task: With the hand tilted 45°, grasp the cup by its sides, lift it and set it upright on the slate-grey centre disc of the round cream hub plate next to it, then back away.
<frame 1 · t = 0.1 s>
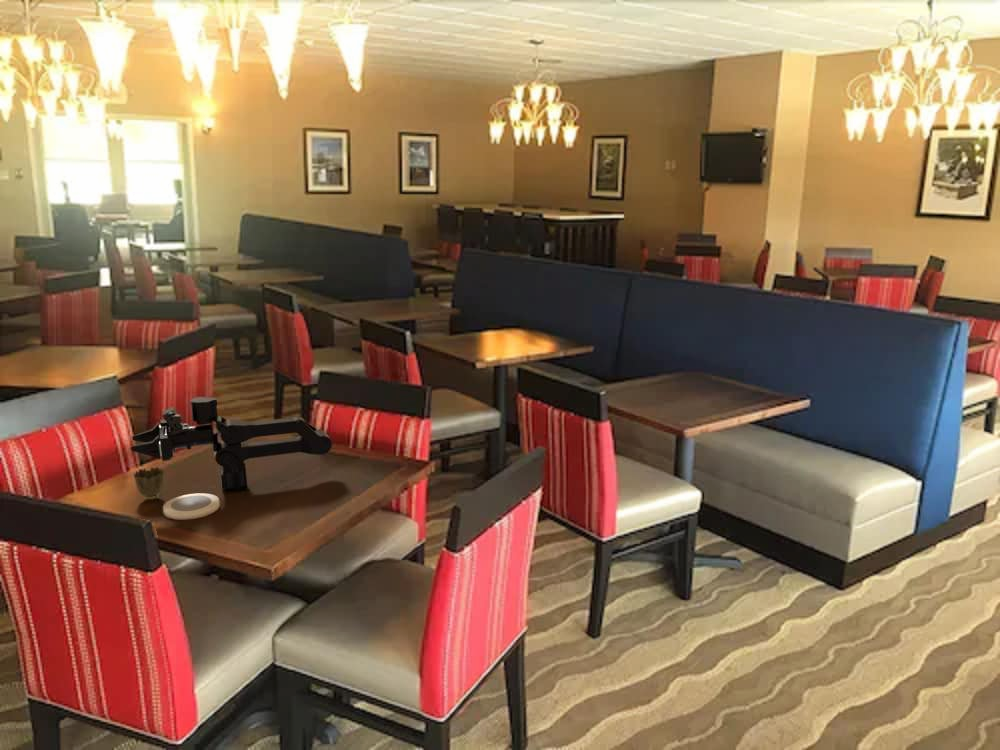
hand: (131, 443, 215), 17 cm above the table, tool horizontal, fingers open, 9 cm apart
cup: (151, 499, 221), on the table
hub plate: (191, 508, 214), on the table
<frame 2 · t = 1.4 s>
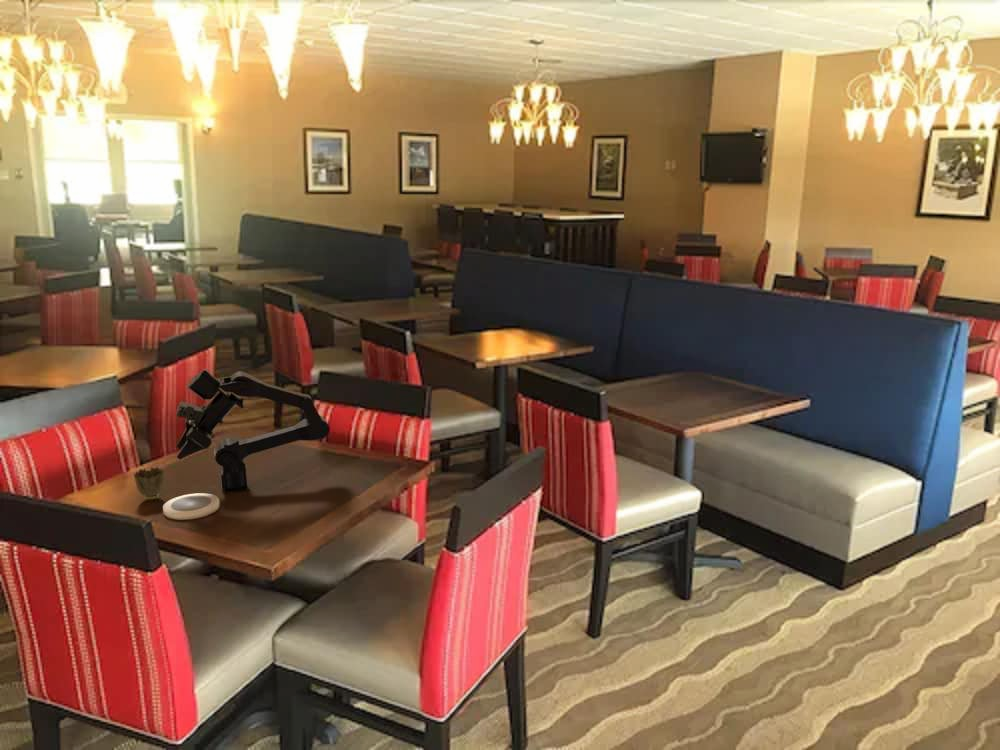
hand: (177, 452, 221), 12 cm above the table, tool tilted 45°, fingers open, 9 cm apart
nothing on the table moved.
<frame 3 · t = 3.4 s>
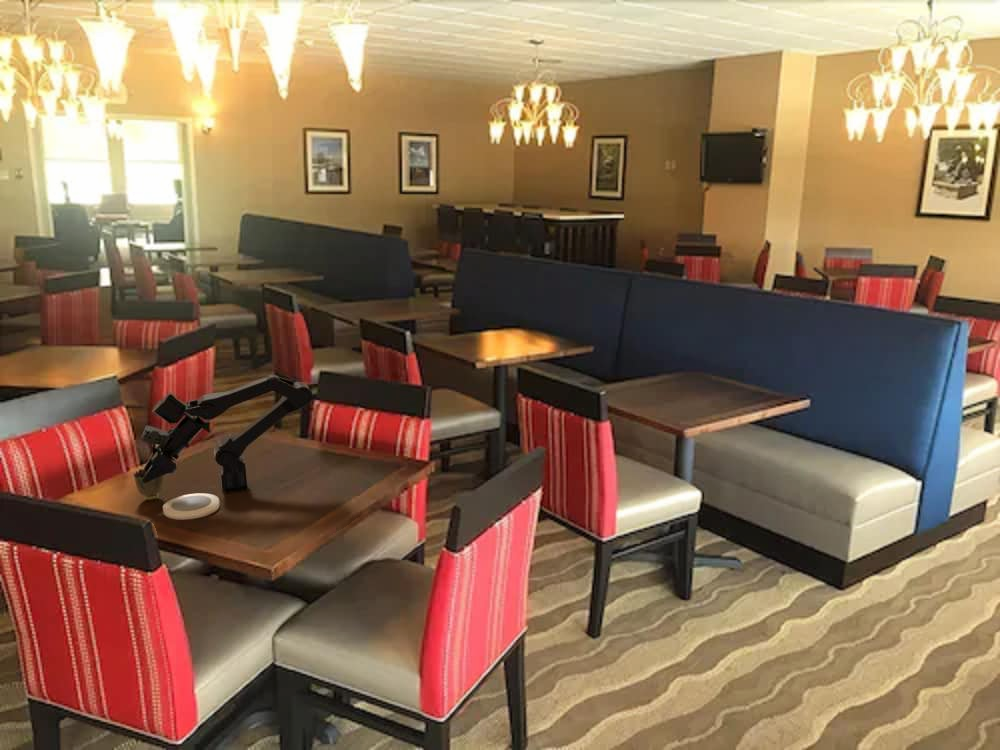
hand: (143, 477, 219), 7 cm above the table, tool tilted 45°, fingers closed on cup, 7 cm apart
cup: (151, 499, 221), on the table, touching gripper
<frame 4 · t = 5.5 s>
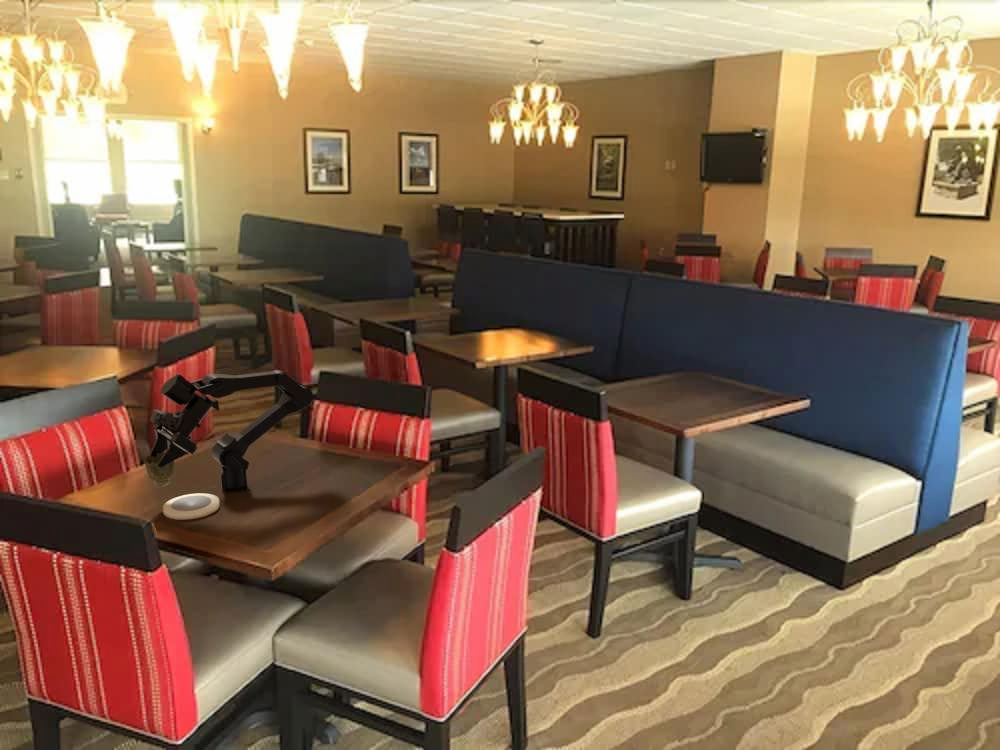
hand: (154, 462, 213), 12 cm above the table, tool tilted 45°, fingers closed on cup, 7 cm apart
cup: (162, 485, 216), point 5 cm above the table, touching gripper
when the fingers open (10 cm above the table, at t = 7.9 s): cup drops 1 cm, resting on hub plate.
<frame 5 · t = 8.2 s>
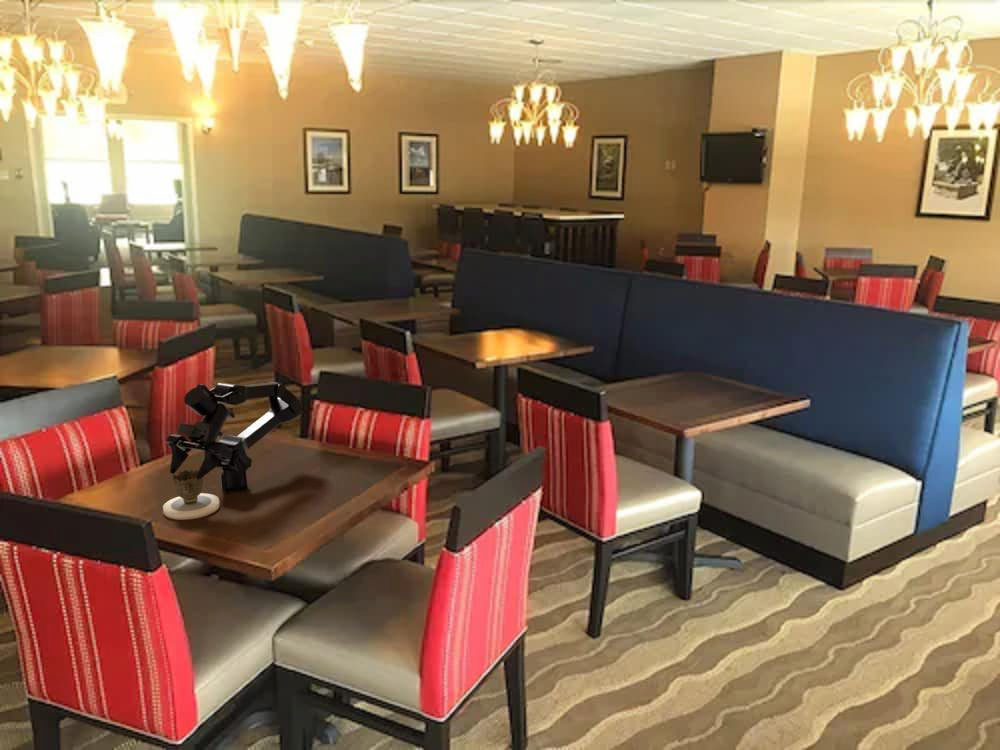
hand: (184, 476, 211), 10 cm above the table, tool tilted 45°, fingers open, 9 cm apart
cup: (190, 503, 214), point 2 cm above the table, touching hub plate
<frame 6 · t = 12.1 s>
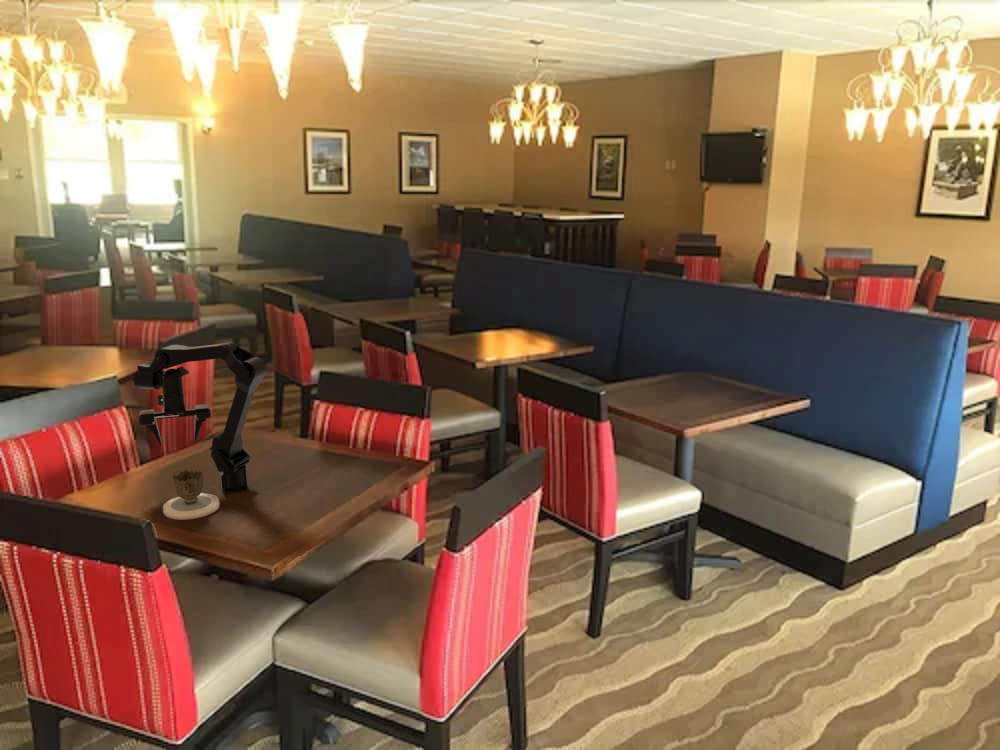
hand: (178, 443, 230), 12 cm above the table, tool pointing down, fingers open, 9 cm apart
nothing on the table moved.
at the end: cup inside the target area on the hub plate (0.4 cm from its centre), point 1.5 cm above the hub plate's base; cup tilted 0°; the gripper is holding nothing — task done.
